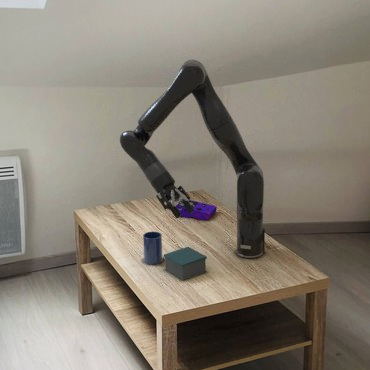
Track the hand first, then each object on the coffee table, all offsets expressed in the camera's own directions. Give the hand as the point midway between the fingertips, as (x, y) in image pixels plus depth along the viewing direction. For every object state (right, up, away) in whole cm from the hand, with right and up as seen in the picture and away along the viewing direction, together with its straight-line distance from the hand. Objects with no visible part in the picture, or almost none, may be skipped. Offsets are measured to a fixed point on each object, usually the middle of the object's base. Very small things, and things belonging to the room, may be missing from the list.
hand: (185, 214), depth 238 cm
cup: (-11, -17, +13) cm, 24 cm away
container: (0, -20, +4) cm, 20 cm away
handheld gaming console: (+8, -2, +53) cm, 54 cm away
